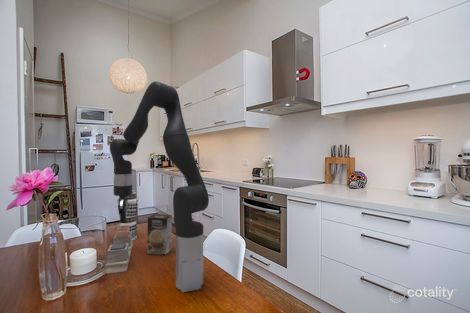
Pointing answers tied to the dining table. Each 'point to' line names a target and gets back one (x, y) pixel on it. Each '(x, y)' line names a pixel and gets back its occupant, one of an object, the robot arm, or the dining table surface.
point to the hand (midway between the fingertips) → (123, 222)
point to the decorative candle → (131, 214)
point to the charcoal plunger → (118, 246)
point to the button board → (119, 255)
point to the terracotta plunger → (123, 231)
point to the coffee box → (159, 234)
